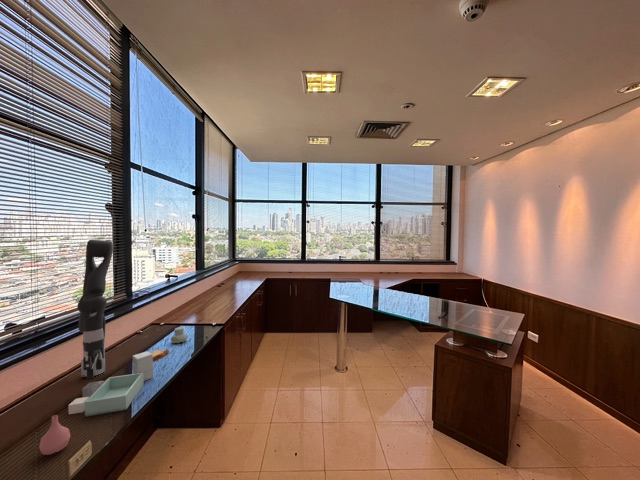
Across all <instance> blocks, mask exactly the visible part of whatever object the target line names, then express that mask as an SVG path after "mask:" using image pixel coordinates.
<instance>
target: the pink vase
mask: <svg viewBox="0 0 640 480" xmlns="http://www.w3.org/2000/svg"><path fill="white" fill-rule="evenodd" d="M71 436H72V435H71V432H70V429H69V428H68V427H65V426H63V425H62V424H60V422H59V415H58V414H55V415H52V416H51V425H50V426H49V428H48V430H47V432H46V433H45V434H44V435H43V436H42V437H41V438H40V442H39V447H38V448H39V450H40V452H41V454H42V455H44V456H46V455H47V456H48V455H54V454H56V453H55V452H57V453H59V452H60V451H61V450H63V449H65V447H67V446H68V445H69V441H70V438H71ZM53 453H54V454H53Z"/></svg>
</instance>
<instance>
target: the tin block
mask: <svg viewBox="0 0 640 480" xmlns="http://www.w3.org/2000/svg"><path fill="white" fill-rule="evenodd" d="M104 382H105V380H99V381H93V382H88V383H87V384H86V385H85V386H84V387H83V388H82V389H81V390H82V398H84V397H89V398H90V397H91V396H92V394H93V393H94V392H95V391H96V390H97V389H98V388H99V387H100V386H101V385H102V384H103V383H104Z"/></svg>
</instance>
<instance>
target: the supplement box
mask: <svg viewBox="0 0 640 480" xmlns="http://www.w3.org/2000/svg"><path fill="white" fill-rule="evenodd" d="M150 352H151V351H143V352H140V353H136V354H134V355H132V374H137V373H143V382H145V381H147V380H150V379H152V378H153V379H154V362H153V354H151V353H150Z"/></svg>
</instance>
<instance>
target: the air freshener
mask: <svg viewBox="0 0 640 480" xmlns="http://www.w3.org/2000/svg"><path fill="white" fill-rule="evenodd" d="M184 330H185V328H184V327H183V326H182V327H181V326H180V327H179V326H177V327H175V328H174V334H173V335H172V336H171V337H170V341H171V342H172V343H173V344H175V343H178V344H181V343H180V342H182V343H184V342H186V341H187V339H188V337H189V336H188V334H186V333H185V331H184Z"/></svg>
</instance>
